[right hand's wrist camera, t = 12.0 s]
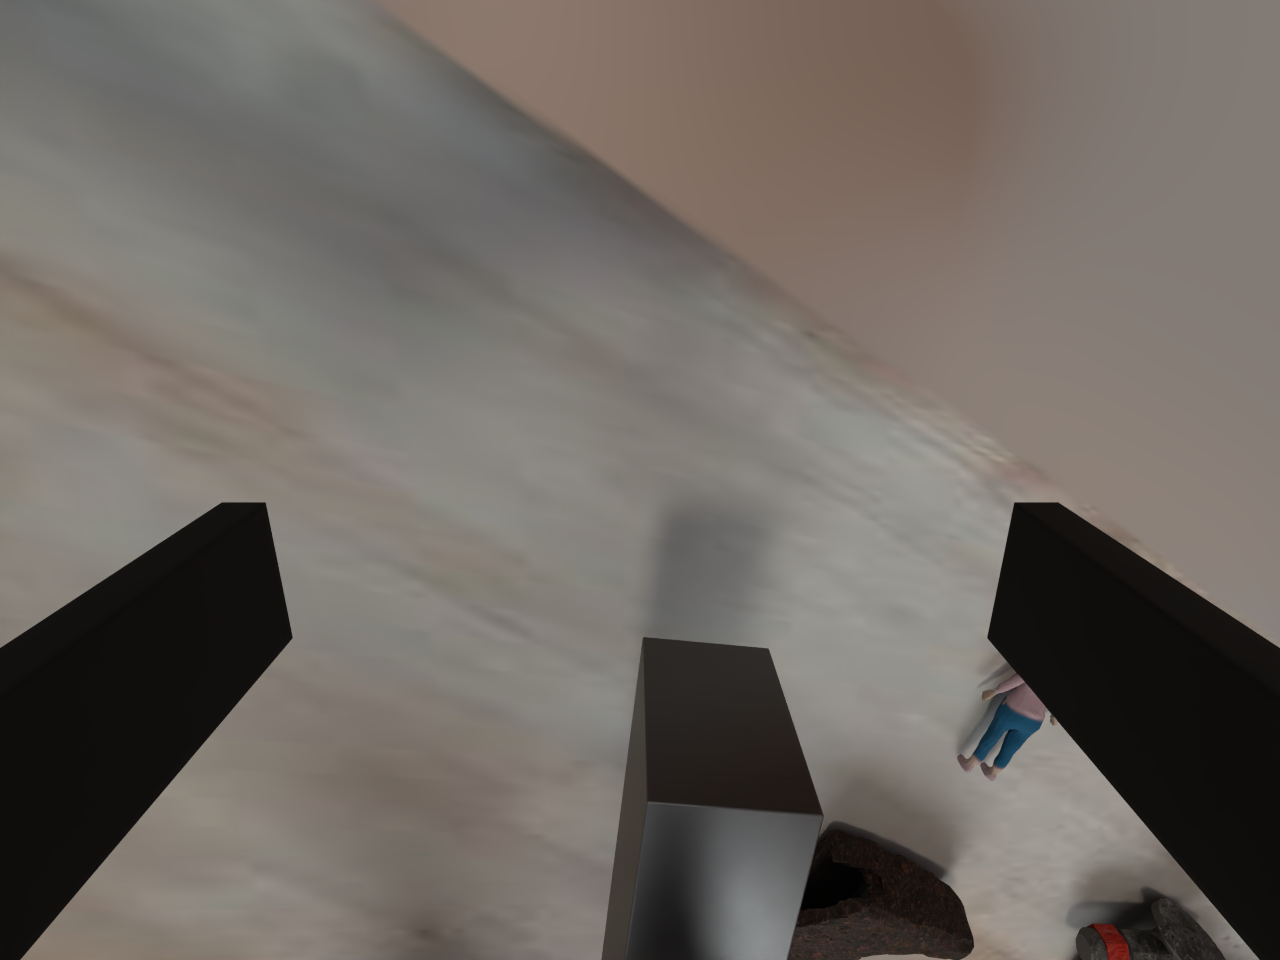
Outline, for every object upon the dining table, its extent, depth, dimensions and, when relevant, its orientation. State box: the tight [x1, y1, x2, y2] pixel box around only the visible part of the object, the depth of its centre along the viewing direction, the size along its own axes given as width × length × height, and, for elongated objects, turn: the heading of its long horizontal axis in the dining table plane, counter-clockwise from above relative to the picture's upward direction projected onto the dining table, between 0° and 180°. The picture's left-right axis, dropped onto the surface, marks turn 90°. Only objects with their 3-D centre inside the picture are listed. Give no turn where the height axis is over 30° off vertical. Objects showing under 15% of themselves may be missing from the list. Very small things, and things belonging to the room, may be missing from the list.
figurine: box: [957, 674, 1058, 781], centre depth 48 cm, size 6×4×15 cm
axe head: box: [788, 830, 974, 960], centre depth 56 cm, size 18×8×15 cm
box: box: [602, 637, 824, 960], centre depth 33 cm, size 23×6×10 cm, turn 174°
